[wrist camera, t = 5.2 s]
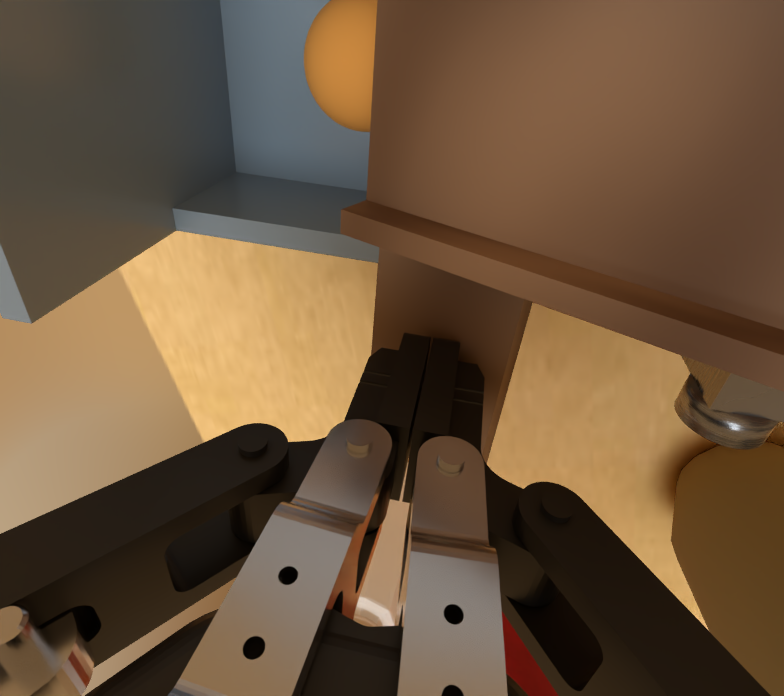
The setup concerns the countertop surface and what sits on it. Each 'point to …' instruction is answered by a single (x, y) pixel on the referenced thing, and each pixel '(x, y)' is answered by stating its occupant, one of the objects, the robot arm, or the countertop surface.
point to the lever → (578, 177)
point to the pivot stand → (728, 407)
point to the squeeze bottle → (736, 552)
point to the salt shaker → (384, 569)
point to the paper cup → (523, 664)
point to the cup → (161, 138)
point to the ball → (343, 61)
